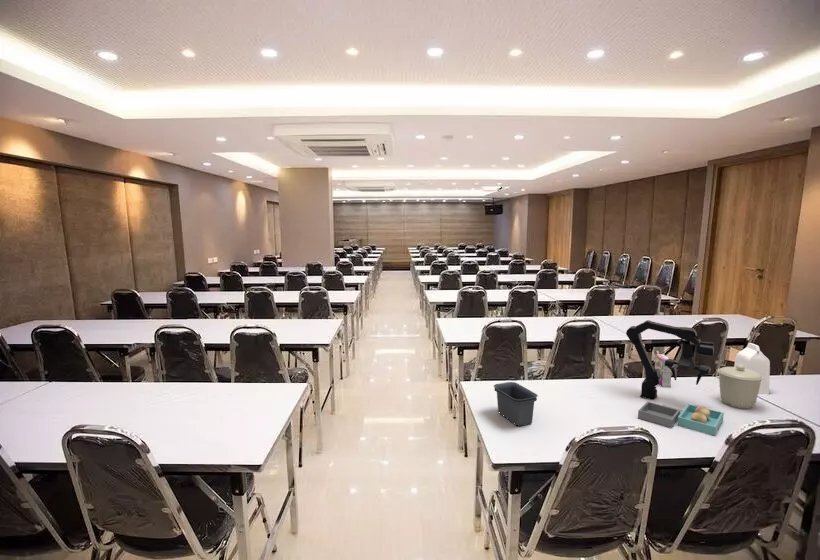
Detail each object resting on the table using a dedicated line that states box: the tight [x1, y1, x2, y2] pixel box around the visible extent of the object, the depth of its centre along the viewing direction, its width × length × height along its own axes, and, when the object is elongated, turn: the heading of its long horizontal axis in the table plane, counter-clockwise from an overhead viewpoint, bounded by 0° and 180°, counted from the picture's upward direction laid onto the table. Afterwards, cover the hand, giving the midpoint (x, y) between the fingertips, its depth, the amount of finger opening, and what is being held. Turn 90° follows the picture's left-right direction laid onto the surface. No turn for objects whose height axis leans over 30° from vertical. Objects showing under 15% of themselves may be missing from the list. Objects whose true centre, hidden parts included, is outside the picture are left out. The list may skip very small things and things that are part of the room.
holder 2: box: [676, 403, 725, 437], centre depth 186 cm, size 14×20×4 cm
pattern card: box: [661, 404, 684, 414], centre depth 199 cm, size 9×6×1 cm, turn 44°
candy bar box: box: [654, 353, 672, 388], centre depth 232 cm, size 11×5×16 cm, turn 168°
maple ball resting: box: [691, 412, 707, 424], centre depth 182 cm, size 6×6×6 cm
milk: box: [733, 342, 771, 395], centre depth 222 cm, size 12×12×26 cm
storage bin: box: [493, 381, 539, 427], centre depth 193 cm, size 21×16×14 cm
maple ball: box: [695, 405, 711, 419], centre depth 189 cm, size 6×6×6 cm
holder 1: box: [637, 401, 680, 429], centre depth 191 cm, size 14×14×4 cm
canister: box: [717, 364, 763, 409], centre depth 204 cm, size 18×18×21 cm
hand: (686, 382), depth 204 cm, fingers open, 9 cm apart
